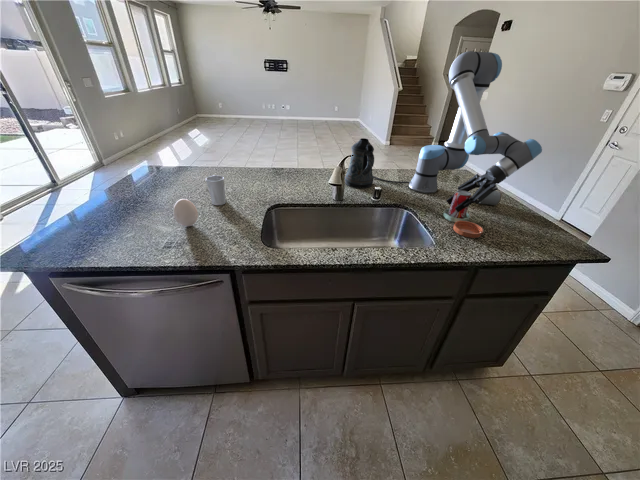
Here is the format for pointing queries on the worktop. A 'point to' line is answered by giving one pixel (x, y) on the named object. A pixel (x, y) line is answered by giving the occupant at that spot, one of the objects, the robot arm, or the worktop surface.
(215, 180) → the cup
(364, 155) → the dark grey jug
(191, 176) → the worktop surface
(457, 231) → the terracotta bowl
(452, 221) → the celadon bowl
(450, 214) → the soda can
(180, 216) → the egg
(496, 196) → the ceramic mug
